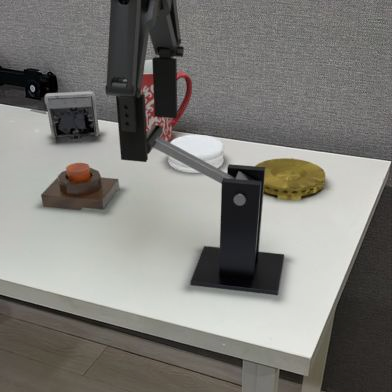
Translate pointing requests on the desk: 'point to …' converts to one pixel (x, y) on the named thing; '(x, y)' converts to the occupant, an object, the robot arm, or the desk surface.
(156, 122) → the mug
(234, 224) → the stand
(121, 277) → the desk surface
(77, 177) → the button
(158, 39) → the robot arm
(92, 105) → the electrical switch
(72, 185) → the button block
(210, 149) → the coaster
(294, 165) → the compass
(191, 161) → the switch lever
